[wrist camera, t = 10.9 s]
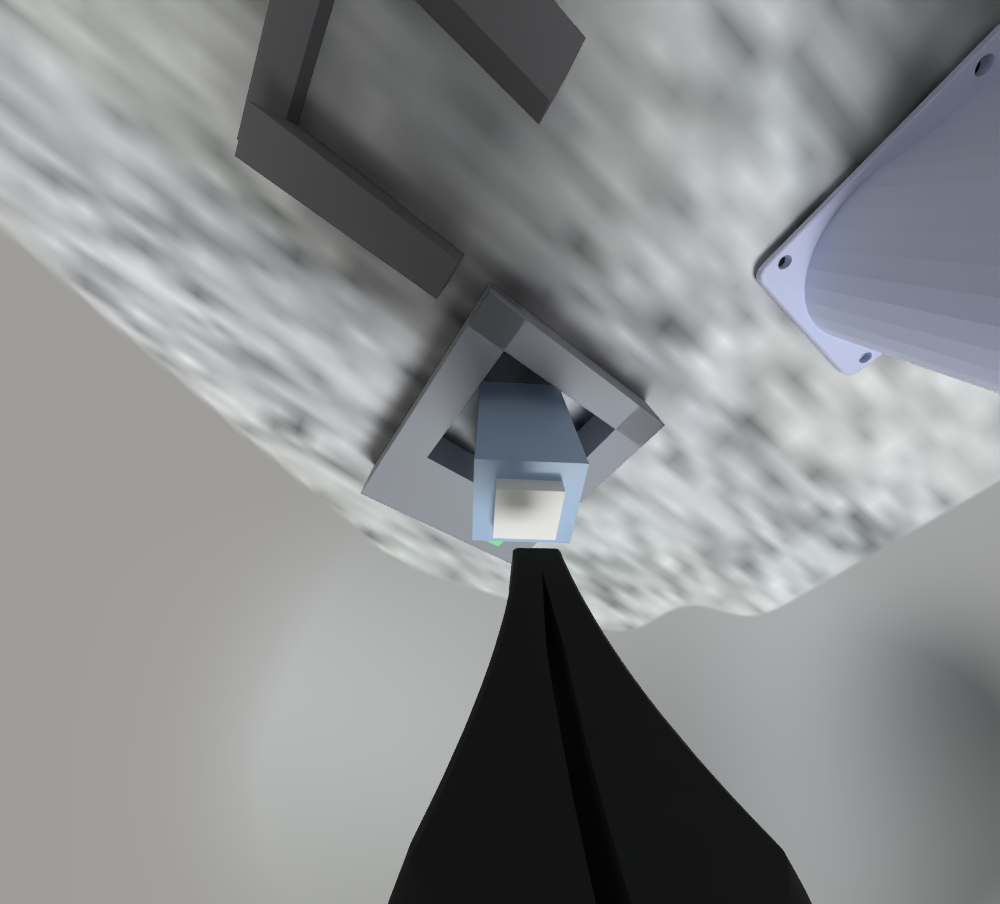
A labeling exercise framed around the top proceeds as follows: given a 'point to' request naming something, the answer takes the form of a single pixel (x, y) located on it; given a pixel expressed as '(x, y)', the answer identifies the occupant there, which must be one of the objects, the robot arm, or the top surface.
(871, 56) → the top surface
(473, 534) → the plug
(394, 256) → the holster
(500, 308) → the frame
